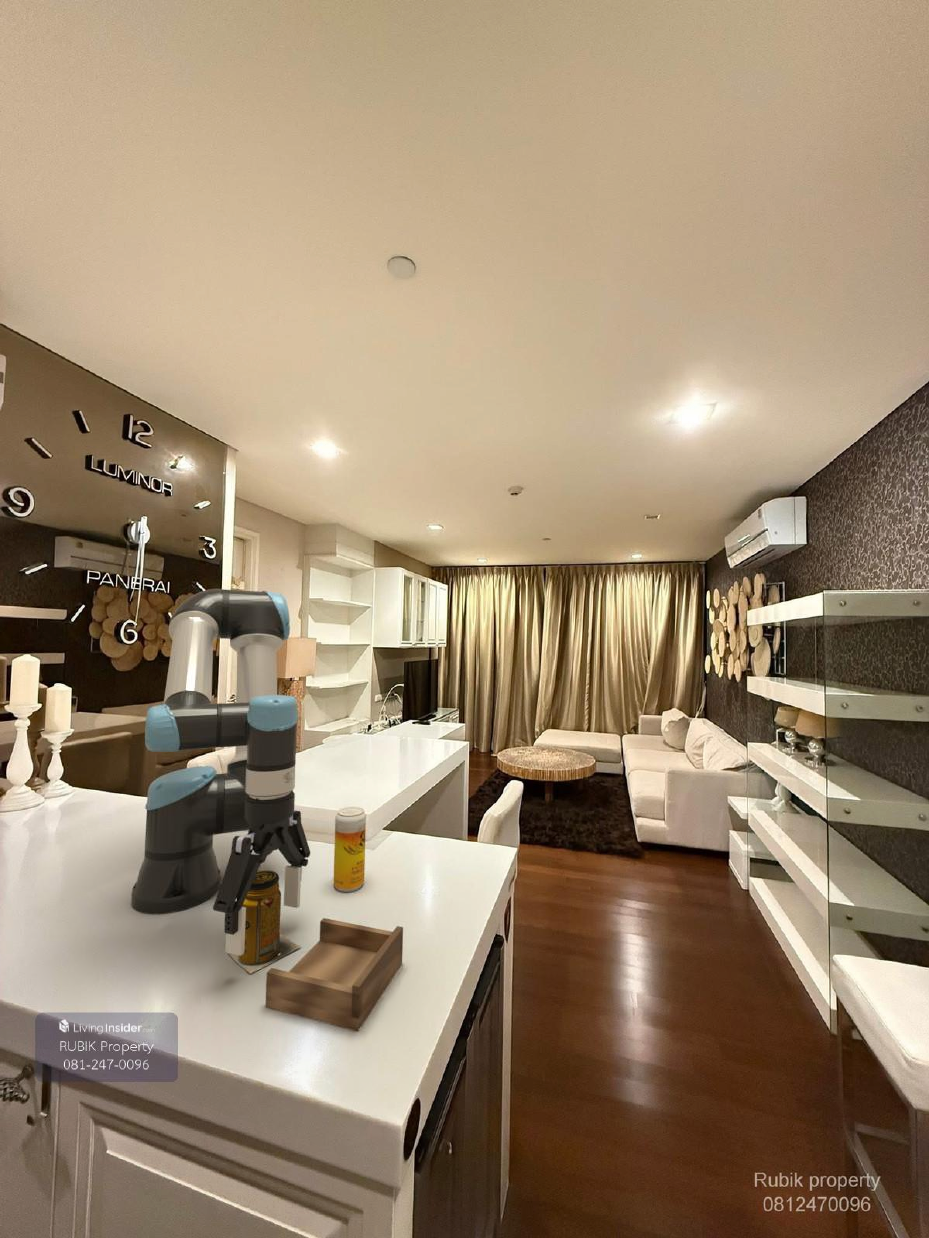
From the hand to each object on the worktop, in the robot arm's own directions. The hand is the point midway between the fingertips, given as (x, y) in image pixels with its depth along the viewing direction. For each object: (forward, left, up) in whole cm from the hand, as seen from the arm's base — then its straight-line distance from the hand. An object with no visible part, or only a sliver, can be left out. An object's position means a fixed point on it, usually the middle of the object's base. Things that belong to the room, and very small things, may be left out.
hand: (265, 927), depth 79 cm
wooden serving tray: (+15, -3, -4) cm, 16 cm away
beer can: (+2, +23, -4) cm, 23 cm away
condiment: (0, 0, -4) cm, 4 cm away
